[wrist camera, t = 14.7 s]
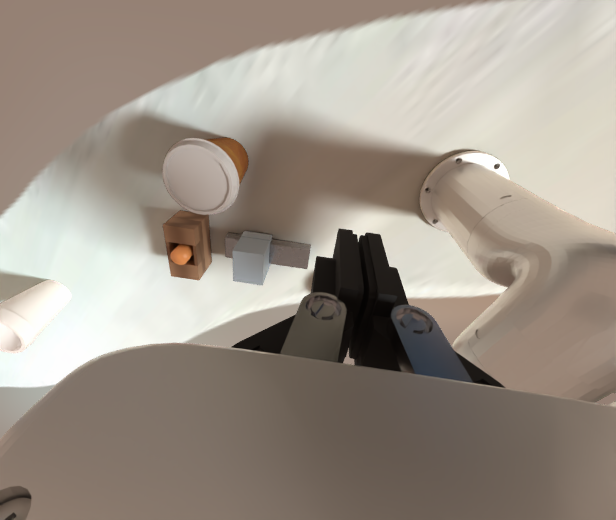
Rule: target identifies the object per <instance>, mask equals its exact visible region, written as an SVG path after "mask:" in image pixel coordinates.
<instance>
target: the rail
mask: <svg viewBox="0 0 616 520" xmlns="http://www.w3.org/2000/svg"><path fill="white" fill-rule="evenodd" d="M240 237H241V234H235V233H228V234H227V236H226V237H225V252H226V257H229V258H233V249H234V247H235V246H236V244H237V242H238V241H239V239H240ZM310 247H311V245H309V244H302V243H296V242H289V241H282V240H275V239H272V240H271V242H270V252H269V264H276V265H283V266H290V267H296V268H303V269H307V267H308V261H309V254H310Z"/></svg>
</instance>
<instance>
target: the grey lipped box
mask: <svg viewBox="0 0 616 520" xmlns="http://www.w3.org/2000/svg"><path fill="white" fill-rule="evenodd" d="M271 240H272V235H269V234H262V233H256V232H249V231H244V232H243V234H242V235H241V237H240V239H239V241H238V242H237V244H236V246H235V247H234V249H233V281H237V282H244V283H250V284H257V285H263V283H264V280H265V277H266V275H267V272H268V269H269V267H270V264H269V252H270V242H271Z"/></svg>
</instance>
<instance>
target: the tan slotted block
mask: <svg viewBox="0 0 616 520" xmlns="http://www.w3.org/2000/svg"><path fill="white" fill-rule="evenodd" d="M163 230H164V236H165V242H166V248H167V254H168V260H169V266H170V272H171V276H174V277H180V278H187V279H194V280H200V278H201V277H202V276H203V274H204V273H205V271H206V270H207V268H208V267H209V265H210V264H211V262H212V259H211V245H210V230H209V216H208V215H202V214H197V213H193V212H188V211H181V210H180V211H179V212H178V213H176V214H175V215H174V216H173V217H172V218H170V219H169V220H168V221H167V222H166V223H164V224H163ZM179 244H186V245H193V253H194V254H193V255H192V256H191V258H190V259H189V260H188V261H187V262H186V264H184V265H178V264H176V263H174V262H173V261H172V260H171V257H170V254H171V252H172V251H173V250H174V249H175V248H176V247H177V246H178V245H179Z"/></svg>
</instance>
